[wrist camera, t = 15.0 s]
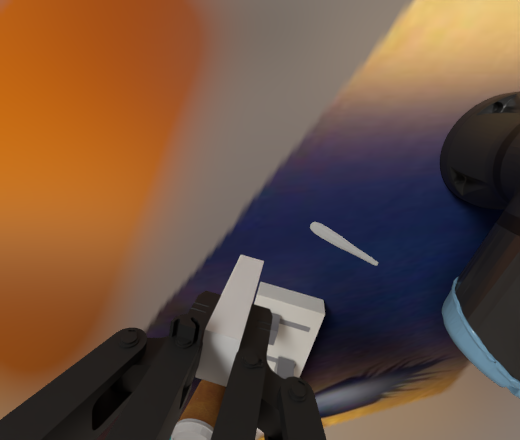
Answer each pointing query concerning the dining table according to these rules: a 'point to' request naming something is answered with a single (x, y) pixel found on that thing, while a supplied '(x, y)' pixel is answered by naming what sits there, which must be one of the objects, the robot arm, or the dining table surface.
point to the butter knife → (339, 241)
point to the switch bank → (291, 323)
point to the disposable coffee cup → (200, 413)
